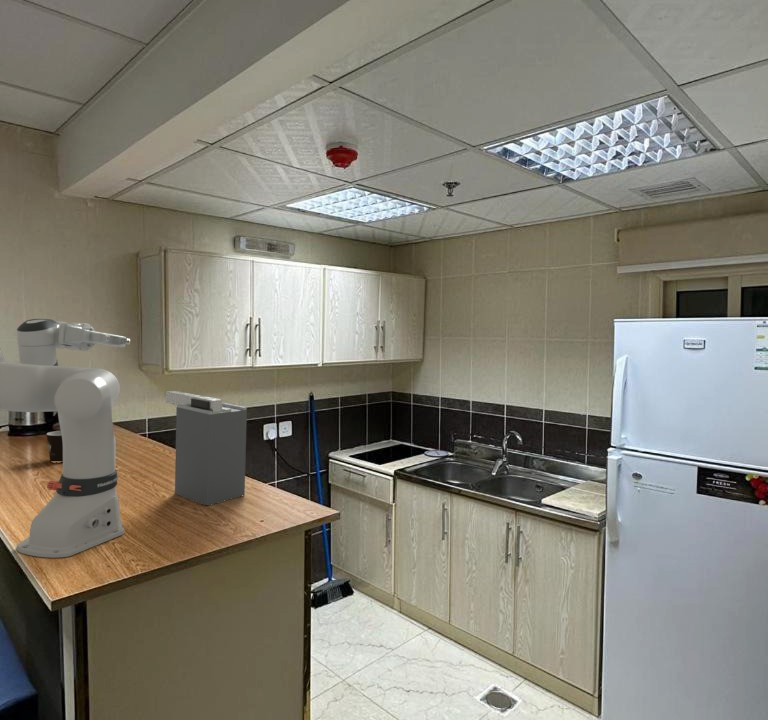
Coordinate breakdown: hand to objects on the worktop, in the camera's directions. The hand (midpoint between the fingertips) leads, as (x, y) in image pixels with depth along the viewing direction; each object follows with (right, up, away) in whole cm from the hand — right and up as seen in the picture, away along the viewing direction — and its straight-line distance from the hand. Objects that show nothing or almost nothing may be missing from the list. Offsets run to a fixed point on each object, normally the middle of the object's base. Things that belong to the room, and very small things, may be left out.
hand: (118, 339), depth 164 cm
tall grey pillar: (+31, -47, -8) cm, 57 cm away
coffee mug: (-32, -42, +22) cm, 57 cm away
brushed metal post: (+27, -20, -9) cm, 35 cm away
